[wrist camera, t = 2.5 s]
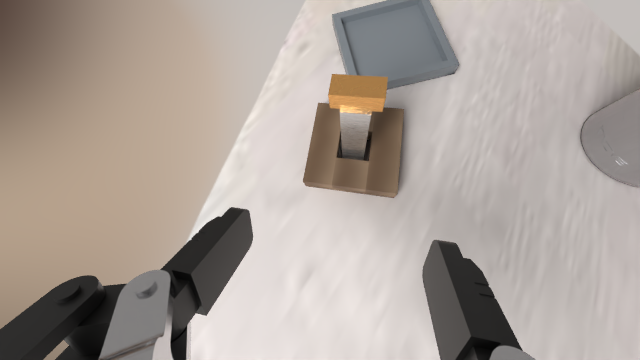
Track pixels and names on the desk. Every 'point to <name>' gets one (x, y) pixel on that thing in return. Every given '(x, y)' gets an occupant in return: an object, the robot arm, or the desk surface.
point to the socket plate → (355, 174)
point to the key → (356, 108)
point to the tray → (394, 42)
